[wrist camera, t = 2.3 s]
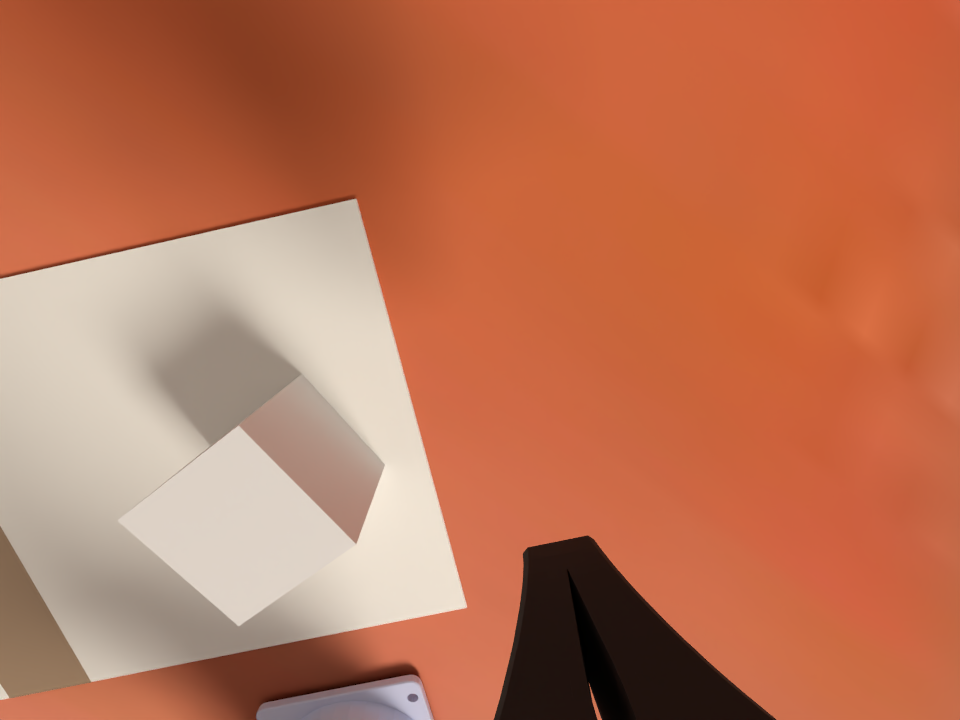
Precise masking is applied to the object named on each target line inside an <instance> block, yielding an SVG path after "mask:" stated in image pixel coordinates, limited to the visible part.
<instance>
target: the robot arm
mask: <svg viewBox="0 0 960 720" xmlns="http://www.w3.org/2000/svg"><path fill="white" fill-rule="evenodd" d="M523 561H524V569H523V585H522V594H521V602H520V609H519V614H518V620H517V626H516V631H515V637H514V642H513V647H512V652H511V656H510V660H509V664H508V668H507V672H506V676H505V680H504V685H503V689H502V693H501V697H500V700H499V704H498V707H497V711H496V714H495V718H494V720H597V717H596V714H595V710H594V707H593V703H592V698H591V692H590V687H591V690H592V693H593V695H594V698H595V701H596V704H597V707H598V710H599V713H600V715H601V718H602V720H776V719H775V718H774V717H773V716H771V715H770V714H769V713H768V712H766V711H765V710H764V709H763V708H762V707H760V706H759V705H758V704H757V703H756V702H754V701H753V700H752V699H751V698H749V697H748V696H747V695H746V694H745V693H743V692H742V691H741V690H740V689H739V688H738V687H736V686H735V685H734V684H733V683H732V682H731V681H729V680H728V679H727V678H726V677H725V676H724V675H723V674H721V673H720V672H719V671H718V670H717V669H716V668H715V667H714V666H712V665H711V664H710V663H709V662H708V661H707V660H706V659H705V658H704V657H703V656H702V655H700V654H699V653H698V652H697V651H696V650H695V649H694V648H693V647H692V646H691V645H690V644H689V643H688V642H686V641H685V640H684V639H683V638H682V637H681V636H680V635H679V634H678V633H677V632H676V631H675V630H674V629H673V628H672V627H671V626H670V625H669V624H668V623H667V622H666V621H665V620H664V619H663V618H662V617H661V616H660V615H659V614H658V613H657V612H656V611H655V610H654V609H653V608H652V607H651V606H650V605H649V604H648V603H647V602H646V601H645V599H644V598H643V597H642V596H641V595H640V594H639V593H638V592H637V591H636V590H635V589H634V588H633V587H632V586H631V584H630V583H629V582H628V581H627V580H626V579H625V578H624V576H623V575H622V574H621V573H620V572H619V571H618V570H617V568H616V567H615V566H614V565H613V564H612V562H611V561H610V560H609V559H608V558H607V556H606V555H605V554H604V552H603V551H602V550H601V549H600V547H599V546H598V545H597V543H596V542H595V540H594V539H592V538H591V537H589V536H583V537H578V538H573V539H568V540H563V541H558V542H553V543H548V544H543V545H538V546H533V547H528V548H527V549H526V550H525V552H524V553H523ZM589 684H590V687H589ZM256 719H257V720H434V719H433V716H432V713H431V709H430V706H429V703H428V700H427V697H426V694H425V691H424V688H423V685H422V682H421V680H420V678H419V677H417V676H416V675H405V676H400V677H394V678H389V679H384V680H379V681H374V682H369V683H363V684H358V685H353V686H348V687H343V688H338V689H333V690H327V691H322V692H317V693H312V694H307V695H302V696H296V697H291V698H286V699H281V700H276V701H271V702H266V703H263V704H262V705H261V706H260V707H259V709H258V711H257V714H256Z"/></svg>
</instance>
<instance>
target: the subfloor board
mask: <svg viewBox="0 0 960 720" xmlns="http://www.w3.org/2000/svg"><path fill="white" fill-rule="evenodd" d="M301 374H303V375H304V377H305V378H306V379H307V380H308V381H309V382H310V383H311V384H312V385H313V386H314V387H315V389H316V390H317V391H318V392H319V393H320V394H321V395H322V396H323V397H324V398H325V400H326V401H327V402H328V403H329V404H330V405H331V406H332V407H333V408H334V409H335V410H336V412H337V413H338V414H339V415H340V416H341V417H342V418H343V419H344V420H345V421H346V422H347V424H348V425H349V426H350V427H351V428H352V429H353V430H354V431H355V432H356V433H357V435H358V436H359V437H360V438H361V439H362V440H363V441H364V442H365V443H366V444H367V445H368V447H369V448H370V449H371V450H372V451H373V452H374V453H375V454H376V455H377V456H378V458H379V459H380V460H381V461H382V462H383V463H384V464H385V467H384V469H383V472H382V475H381V478H380V480H379V483H378V486H377V489H376V491H375V494H374V497H373V500H372V502H371V505H370V508H369V511H368V513H367V516H366V519H365V522H364V524H363V527H362V530H361V533H360V535H359V538H358V541H357V544H356V545H355V546H353V547H352V548H350V549H349V550H347V551H346V552H345V553H343V554H342V555H340V556H339V557H337V558H336V559H335V560H333V561H332V562H330V563H329V564H327V565H326V566H325V567H323V568H322V569H320V570H319V571H317V572H316V573H315V574H313V575H312V576H310V577H309V578H307V579H306V580H304V581H303V582H302V583H300V584H299V585H297V586H296V587H294V588H293V589H292V590H290V591H289V592H287V593H286V594H284V595H283V596H282V597H280V598H279V599H277V600H276V601H274V602H273V603H272V604H270V605H269V606H267V607H266V608H264V609H263V610H262V611H260V612H259V613H257V614H256V615H254V616H253V617H251V618H250V619H249V620H247V621H246V622H244V623H243V624H241V625H240V626H238V625H237V624H235V623H234V622H233V621H232V620H231V619H230V618H229V617H227V616H226V615H225V614H224V613H223V612H222V611H221V610H219V609H218V608H217V607H216V606H215V605H214V604H212V603H211V602H210V601H209V600H208V599H207V598H206V597H204V596H203V595H202V594H201V593H200V592H199V591H198V590H196V589H195V588H194V587H193V586H192V585H191V584H189V583H188V582H187V581H186V580H185V579H184V578H183V577H181V576H180V575H179V574H178V573H177V572H176V571H175V570H173V569H172V568H171V567H170V566H169V565H168V564H166V563H165V562H164V561H163V560H162V559H161V558H160V557H158V556H157V555H156V554H155V553H154V552H153V551H152V550H150V549H149V548H148V547H147V546H146V545H145V544H143V543H142V542H141V541H140V540H139V539H138V538H137V537H135V536H134V535H133V534H132V533H131V532H130V531H129V530H127V529H126V528H125V527H124V526H123V525H122V524H120V523H119V522H118V521H117V520H119V519H120V518H121V517H122V516H123V515H125V514H126V513H127V512H128V511H130V510H131V509H132V508H133V507H135V506H136V505H137V504H138V503H140V502H141V501H142V500H143V499H145V498H146V497H147V496H148V495H150V494H151V493H152V492H153V491H155V490H156V489H157V488H158V487H160V486H161V485H162V484H163V483H165V482H166V481H167V480H168V479H170V478H171V477H172V476H173V475H175V474H176V473H177V472H178V471H179V470H181V469H182V468H183V467H184V466H186V465H187V464H188V463H189V462H191V461H192V460H193V459H194V458H196V457H197V456H198V455H199V454H201V453H202V452H203V451H204V450H206V449H207V448H208V447H209V446H211V445H212V444H213V443H214V442H216V441H217V440H218V439H220V438H221V437H222V436H223V435H225V434H226V433H227V432H228V431H230V430H231V429H232V428H234V427H235V426H236V425H237V424H239V423H240V422H241V421H242V420H244V419H245V418H246V417H248V416H249V415H250V414H251V413H253V412H254V411H255V410H256V409H258V408H259V407H260V406H262V405H263V404H264V403H265V402H267V401H268V400H269V399H270V398H272V397H273V396H274V395H276V394H277V393H278V392H279V391H281V390H282V389H283V388H285V387H286V386H287V385H288V384H290V383H291V382H292V381H293V380H295V379H296V378H297V377H299V376H300V375H301ZM463 608H467V603H466V600H465V596H464V592H463V589H462V585H461V581H460V578H459V574H458V570H457V567H456V563H455V559H454V556H453V552H452V548H451V545H450V541H449V537H448V533H447V530H446V526H445V522H444V519H443V515H442V511H441V508H440V504H439V500H438V497H437V493H436V489H435V486H434V482H433V478H432V474H431V471H430V467H429V463H428V460H427V456H426V452H425V449H424V445H423V441H422V438H421V434H420V430H419V427H418V423H417V419H416V415H415V412H414V408H413V404H412V401H411V397H410V393H409V390H408V386H407V382H406V379H405V375H404V371H403V368H402V364H401V360H400V356H399V353H398V349H397V345H396V342H395V338H394V334H393V331H392V327H391V323H390V320H389V316H388V312H387V309H386V305H385V301H384V297H383V294H382V290H381V286H380V283H379V279H378V275H377V272H376V268H375V264H374V261H373V257H372V253H371V250H370V246H369V242H368V239H367V235H366V231H365V227H364V224H363V220H362V216H361V213H360V209H359V205H358V202H357V199H352V200H348V201H343V202H339V203H335V204H330V205H326V206H321V207H317V208H312V209H308V210H304V211H299V212H295V213H290V214H286V215H281V216H277V217H273V218H268V219H264V220H259V221H255V222H250V223H246V224H241V225H237V226H233V227H228V228H224V229H219V230H215V231H210V232H206V233H202V234H197V235H193V236H188V237H184V238H179V239H175V240H171V241H166V242H162V243H157V244H153V245H148V246H144V247H139V248H135V249H131V250H126V251H122V252H117V253H113V254H108V255H104V256H100V257H95V258H91V259H86V260H82V261H77V262H73V263H69V264H64V265H60V266H55V267H51V268H46V269H42V270H37V271H33V272H29V273H24V274H20V275H15V276H11V277H6V278H2V279H0V700H2V699H7V698H14V697H19V696H24V695H29V694H34V693H39V692H44V691H49V690H54V689H60V688H65V687H70V686H75V685H80V684H85V683H90V682H93V681H98V680H103V679H108V678H114V677H119V676H124V675H129V674H134V673H139V672H144V671H149V670H154V669H159V668H164V667H169V666H174V665H179V664H184V663H189V662H194V661H200V660H205V659H210V658H215V657H220V656H225V655H230V654H235V653H240V652H245V651H250V650H255V649H260V648H265V647H270V646H275V645H281V644H286V643H291V642H296V641H301V640H306V639H311V638H316V637H321V636H326V635H331V634H336V633H341V632H346V631H351V630H356V629H362V628H367V627H372V626H377V625H382V624H387V623H392V622H397V621H402V620H407V619H412V618H417V617H422V616H427V615H432V614H437V613H443V612H448V611H453V610H458V609H463Z"/></svg>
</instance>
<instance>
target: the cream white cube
mask: <svg viewBox="0 0 960 720" xmlns="http://www.w3.org/2000/svg"><path fill="white" fill-rule="evenodd" d="M384 467H385V464H384V463H383V462H382V461H381V460H380V459H379V458H378V456H377V455H376V454H375V453H374V452H373V451H372V450H371V449H370V448H369V447H368V445H367V444H366V443H365V442H364V441H363V440H362V439H361V438H360V437H359V436H358V435H357V433H356V432H355V431H354V430H353V429H352V428H351V427H350V426H349V425H348V424H347V422H346V421H345V420H344V419H343V418H342V417H341V416H340V415H339V414H338V413H337V412H336V410H335V409H334V408H333V407H332V406H331V405H330V404H329V403H328V402H327V401H326V400H325V398H324V397H323V396H322V395H321V394H320V393H319V392H318V391H317V390H316V389H315V387H314V386H313V385H312V384H311V383H310V382H309V381H308V380H307V379H306V378H305V377H304V375H303V374H301V375H300V376H299V377H297V378H296V379H295V380H293V381H292V382H291V383H290V384H288V385H287V386H286V387H285V388H283V389H282V390H281V391H279V392H278V393H277V394H276V395H274V396H273V397H272V398H270V399H269V400H268V401H267V402H265V403H264V404H263V405H262V406H260V407H259V408H258V409H256V410H255V411H254V412H253V413H251V414H250V415H249V416H248V417H246V418H245V419H244V420H242V421H241V422H240V423H239V424H237V425H236V426H235V427H234V428H232V429H231V430H230V431H228V432H227V433H226V434H225V435H223V436H222V437H221V438H220V439H218V440H217V441H216V442H214V443H213V444H212V445H211V446H209V447H208V448H207V449H206V450H204V451H203V452H202V453H201V454H199V455H198V456H197V457H196V458H194V459H193V460H192V461H191V462H189V463H188V464H187V465H186V466H184V467H183V468H182V469H181V470H179V471H178V472H177V473H176V474H175V475H173V476H172V477H171V478H170V479H168V480H167V481H166V482H165V483H163V484H162V485H161V486H160V487H158V488H157V489H156V490H155V491H153V492H152V493H151V494H150V495H148V496H147V497H146V498H145V499H143V500H142V501H141V502H140V503H138V504H137V505H136V506H135V507H133V508H132V509H131V510H130V511H128V512H127V513H126V514H125V515H123V516H122V517H121V518H120V519H119V520H117V521H118V522H119V523H120V524H122V525H123V526H124V527H125V528H126V529H127V530H129V531H130V532H131V533H132V534H133V535H134V536H135V537H137V538H138V539H139V540H140V541H141V542H142V543H143V544H145V545H146V546H147V547H148V548H149V549H150V550H152V551H153V552H154V553H155V554H156V555H157V556H158V557H160V558H161V559H162V560H163V561H164V562H165V563H166V564H168V565H169V566H170V567H171V568H172V569H173V570H175V571H176V572H177V573H178V574H179V575H180V576H181V577H183V578H184V579H185V580H186V581H187V582H188V583H189V584H191V585H192V586H193V587H194V588H195V589H196V590H198V591H199V592H200V593H201V594H202V595H203V596H204V597H206V598H207V599H208V600H209V601H210V602H211V603H212V604H214V605H215V606H216V607H217V608H218V609H219V610H221V611H222V612H223V613H224V614H225V615H226V616H227V617H229V618H230V619H231V620H232V621H233V622H234V623H235V624H237V625H238V626H240V625H241V624H243V623H244V622H246V621H247V620H249V619H250V618H251V617H253V616H254V615H256V614H257V613H259V612H260V611H262V610H263V609H264V608H266V607H267V606H269V605H270V604H272V603H273V602H274V601H276V600H277V599H279V598H280V597H282V596H283V595H284V594H286V593H287V592H289V591H290V590H292V589H293V588H294V587H296V586H297V585H299V584H300V583H302V582H303V581H304V580H306V579H307V578H309V577H310V576H312V575H313V574H315V573H316V572H317V571H319V570H320V569H322V568H323V567H325V566H326V565H327V564H329V563H330V562H332V561H333V560H335V559H336V558H337V557H339V556H340V555H342V554H343V553H345V552H346V551H347V550H349V549H350V548H352V547H353V546H355V545H356V544H357V541H358V538H359V535H360V533H361V530H362V527H363V524H364V522H365V519H366V516H367V513H368V511H369V508H370V505H371V502H372V500H373V497H374V494H375V491H376V489H377V486H378V483H379V480H380V478H381V475H382V472H383V469H384Z"/></svg>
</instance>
